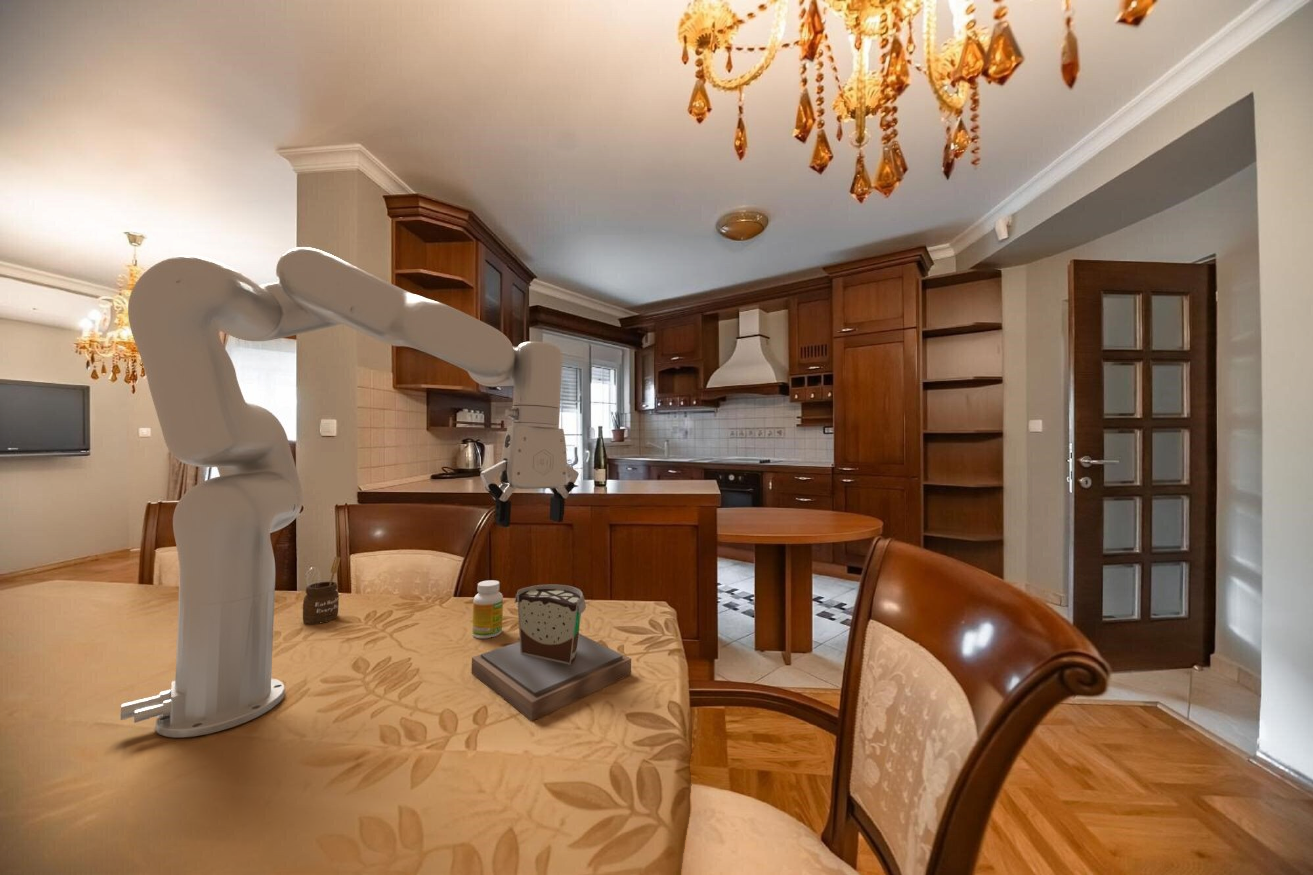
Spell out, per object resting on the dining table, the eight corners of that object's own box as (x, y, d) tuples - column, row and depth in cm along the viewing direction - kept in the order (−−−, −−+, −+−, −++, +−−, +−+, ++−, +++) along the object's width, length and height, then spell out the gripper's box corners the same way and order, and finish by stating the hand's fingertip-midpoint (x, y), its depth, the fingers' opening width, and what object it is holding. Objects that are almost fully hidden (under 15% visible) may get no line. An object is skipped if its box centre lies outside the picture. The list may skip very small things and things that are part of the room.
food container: (598, 650, 75) (600, 589, 75) (579, 666, 69) (580, 600, 70) (536, 637, 80) (537, 579, 80) (513, 652, 74) (514, 589, 74)
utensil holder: (294, 622, 92) (297, 562, 92) (325, 612, 98) (327, 555, 98) (316, 626, 90) (318, 565, 90) (346, 615, 96) (348, 558, 96)
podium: (531, 721, 60) (532, 698, 61) (471, 673, 73) (471, 654, 73) (630, 674, 73) (631, 655, 74) (565, 640, 86) (565, 624, 86)
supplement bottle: (495, 639, 86) (497, 587, 86) (467, 638, 86) (469, 586, 86) (505, 628, 91) (507, 579, 91) (479, 627, 91) (480, 578, 91)
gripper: (496, 413, 66) (490, 532, 66) (592, 422, 79) (587, 522, 78) (474, 414, 72) (468, 524, 71) (567, 423, 84) (562, 516, 83)
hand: (530, 523), depth 75 cm, fingers open, 9 cm apart
